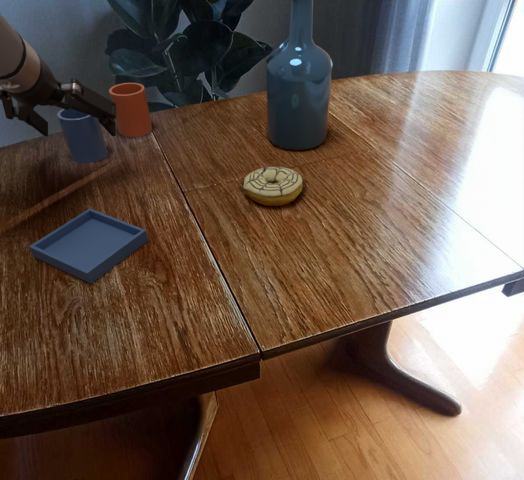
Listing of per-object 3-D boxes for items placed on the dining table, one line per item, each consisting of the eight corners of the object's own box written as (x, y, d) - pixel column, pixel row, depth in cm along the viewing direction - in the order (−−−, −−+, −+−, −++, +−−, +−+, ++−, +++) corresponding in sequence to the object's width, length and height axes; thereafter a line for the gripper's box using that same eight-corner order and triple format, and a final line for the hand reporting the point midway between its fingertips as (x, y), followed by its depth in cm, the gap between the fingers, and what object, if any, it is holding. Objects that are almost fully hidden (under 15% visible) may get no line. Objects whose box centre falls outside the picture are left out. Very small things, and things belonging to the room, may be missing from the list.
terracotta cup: (113, 139, 105) (101, 91, 97) (136, 127, 109) (126, 80, 101) (138, 146, 102) (127, 98, 94) (160, 134, 106) (151, 86, 99)
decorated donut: (262, 176, 92) (261, 157, 89) (310, 188, 88) (312, 169, 86) (234, 200, 86) (233, 181, 83) (285, 215, 82) (286, 195, 80)
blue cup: (66, 164, 97) (48, 114, 89) (92, 150, 101) (77, 102, 93) (91, 173, 94) (75, 122, 87) (117, 158, 98) (104, 109, 91)
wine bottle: (335, 132, 105) (352, -39, 82) (312, 157, 97) (324, -25, 75) (281, 122, 109) (283, -43, 87) (255, 145, 101) (249, -30, 79)
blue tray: (33, 257, 76) (28, 246, 74) (93, 218, 83) (89, 208, 81) (90, 284, 71) (86, 273, 69) (148, 240, 78) (146, 229, 76)
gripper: (-61, 95, 71) (18, 148, 92) (99, 94, 70) (142, 148, 91) (-62, 45, 71) (18, 110, 92) (99, 43, 69) (142, 109, 91)
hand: (80, 129), depth 91 cm, fingers open, 13 cm apart
